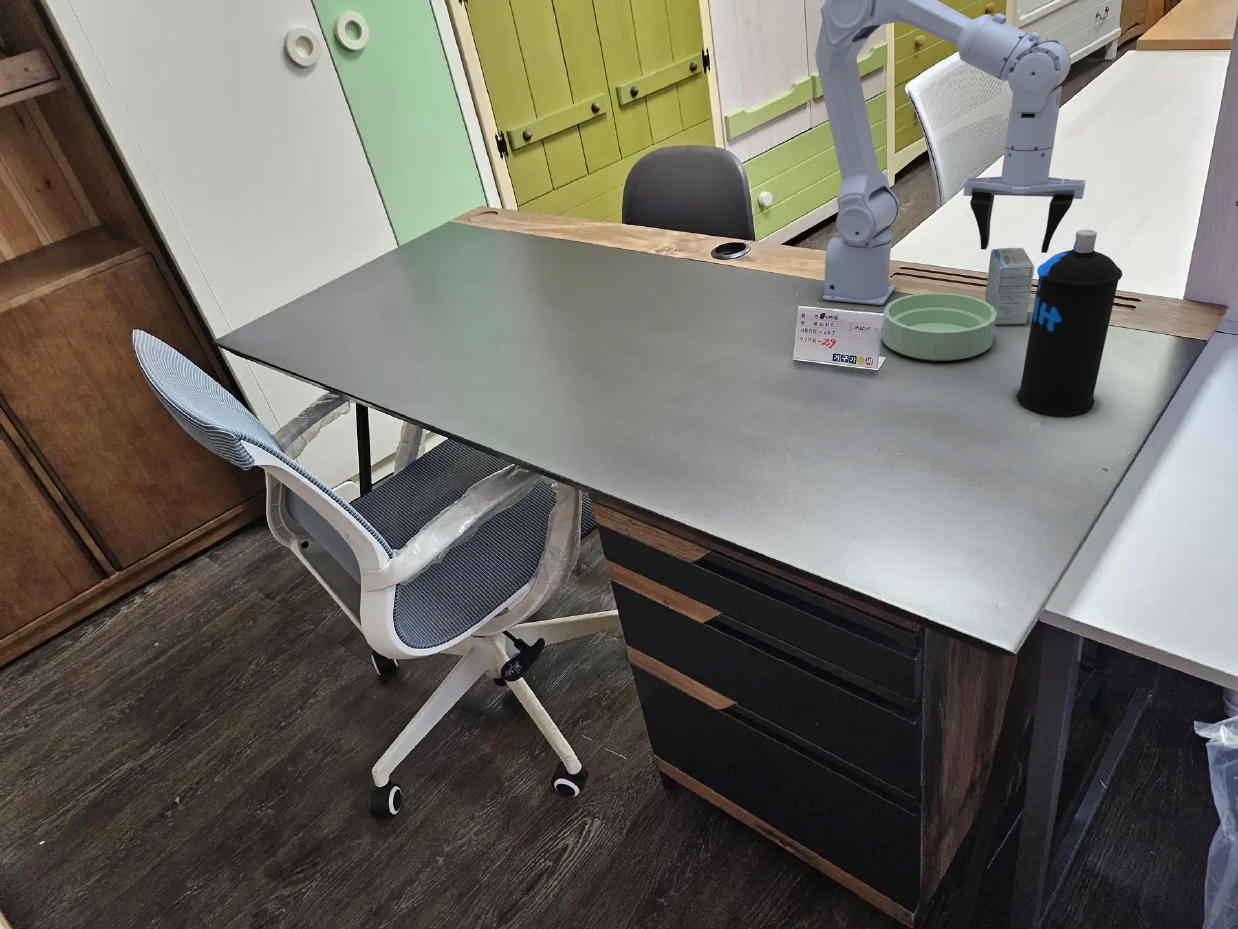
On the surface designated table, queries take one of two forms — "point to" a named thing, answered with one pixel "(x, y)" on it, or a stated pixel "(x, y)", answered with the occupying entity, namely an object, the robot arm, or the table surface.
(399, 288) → the table surface
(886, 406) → the table surface
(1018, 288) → the medicine box
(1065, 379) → the aerosol can
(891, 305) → the bowl
